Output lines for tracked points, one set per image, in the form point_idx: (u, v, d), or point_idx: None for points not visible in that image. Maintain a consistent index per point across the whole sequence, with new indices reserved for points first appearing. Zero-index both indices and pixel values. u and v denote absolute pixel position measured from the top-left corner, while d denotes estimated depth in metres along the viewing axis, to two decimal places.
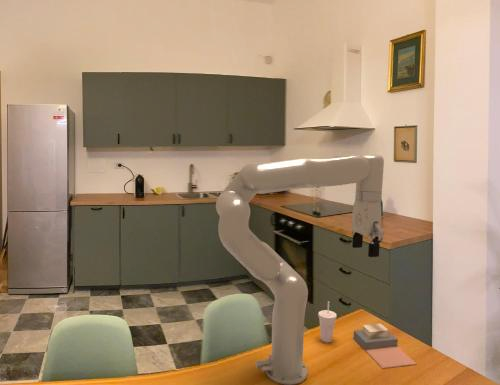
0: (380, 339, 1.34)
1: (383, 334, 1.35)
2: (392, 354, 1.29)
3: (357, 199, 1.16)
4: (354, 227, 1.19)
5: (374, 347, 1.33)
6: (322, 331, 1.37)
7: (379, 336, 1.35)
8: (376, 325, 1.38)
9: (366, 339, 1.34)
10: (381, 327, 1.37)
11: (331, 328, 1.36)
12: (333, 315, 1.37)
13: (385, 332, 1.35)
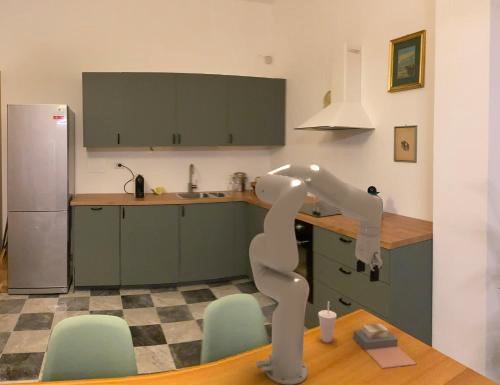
0: (380, 339, 1.34)
1: (383, 334, 1.35)
2: (392, 354, 1.29)
3: (360, 233, 1.38)
4: (358, 255, 1.42)
5: (374, 347, 1.33)
6: (322, 331, 1.37)
7: (379, 336, 1.35)
8: (376, 325, 1.38)
9: (366, 339, 1.34)
10: (381, 327, 1.37)
11: (331, 328, 1.36)
12: (333, 315, 1.37)
13: (385, 332, 1.35)
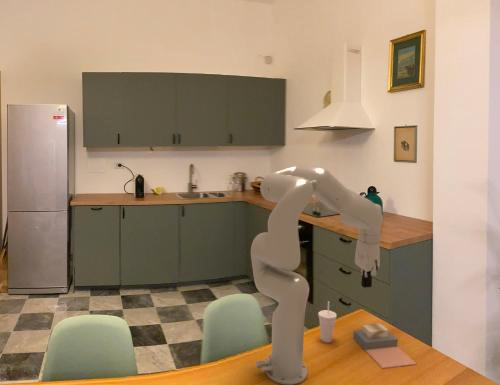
0: (380, 339, 1.34)
1: (383, 334, 1.35)
2: (392, 354, 1.29)
3: (359, 240, 1.39)
4: (357, 263, 1.43)
5: (374, 347, 1.33)
6: (322, 331, 1.37)
7: (379, 336, 1.35)
8: (376, 325, 1.38)
9: (366, 339, 1.34)
10: (381, 327, 1.37)
11: (331, 328, 1.36)
12: (333, 315, 1.37)
13: (385, 332, 1.35)
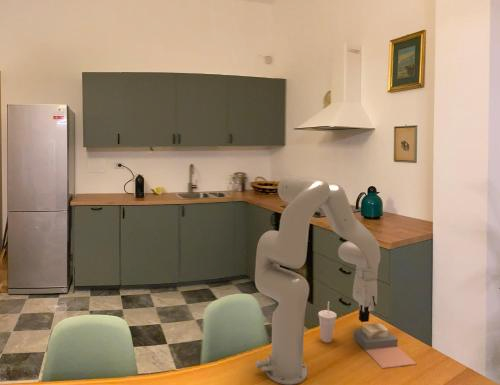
0: (380, 339, 1.34)
1: (383, 334, 1.35)
2: (392, 354, 1.29)
3: (357, 276, 1.41)
4: (355, 297, 1.45)
5: (374, 347, 1.33)
6: (322, 331, 1.37)
7: (379, 336, 1.35)
8: (376, 325, 1.38)
9: (366, 339, 1.34)
10: (381, 327, 1.37)
11: (331, 328, 1.36)
12: (333, 315, 1.37)
13: (385, 332, 1.35)
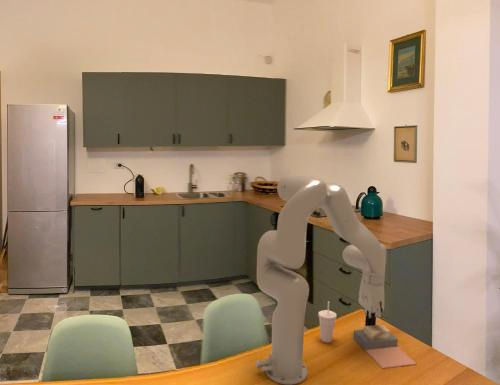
0: (380, 339, 1.34)
1: (385, 335, 1.34)
2: (392, 354, 1.29)
3: (364, 281, 1.37)
4: (361, 302, 1.40)
5: (374, 347, 1.33)
6: (322, 331, 1.37)
7: (381, 337, 1.34)
8: (377, 326, 1.38)
9: (366, 339, 1.34)
10: (382, 328, 1.36)
11: (331, 328, 1.36)
12: (333, 315, 1.37)
13: (387, 333, 1.34)
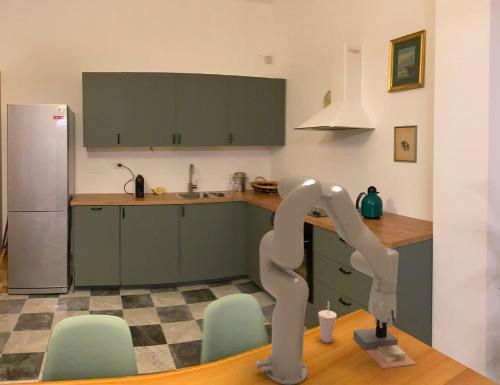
0: (380, 339, 1.34)
1: None
2: None
3: (374, 289, 1.30)
4: (372, 311, 1.33)
5: (374, 347, 1.33)
6: (322, 331, 1.37)
7: None
8: None
9: (366, 339, 1.34)
10: None
11: (331, 328, 1.36)
12: (333, 315, 1.37)
13: None
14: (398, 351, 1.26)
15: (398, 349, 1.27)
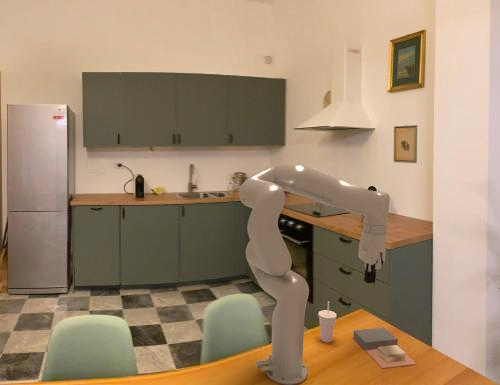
0: (380, 339, 1.34)
1: None
2: None
3: (364, 231, 1.28)
4: (361, 256, 1.32)
5: (374, 347, 1.33)
6: (322, 331, 1.37)
7: None
8: None
9: (366, 339, 1.34)
10: None
11: (331, 328, 1.36)
12: (333, 315, 1.37)
13: None
14: (398, 351, 1.26)
15: (398, 349, 1.27)
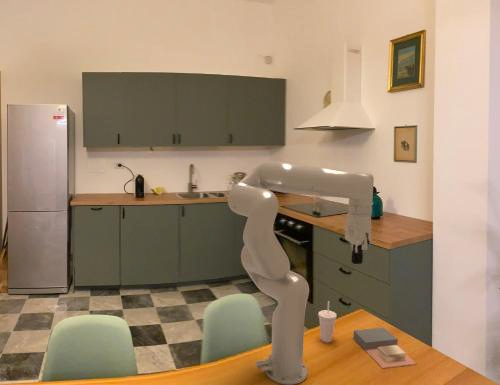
0: (380, 339, 1.34)
1: None
2: None
3: (350, 212, 1.29)
4: (348, 237, 1.33)
5: (374, 347, 1.33)
6: (322, 331, 1.37)
7: None
8: None
9: (366, 339, 1.34)
10: None
11: (331, 328, 1.36)
12: (333, 315, 1.37)
13: None
14: (398, 351, 1.26)
15: (398, 349, 1.27)
